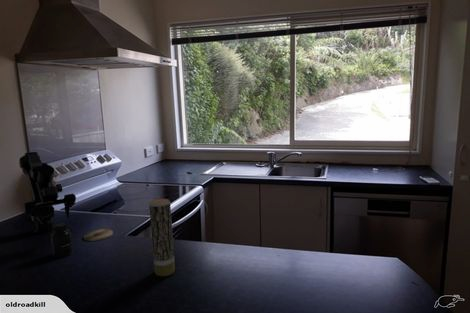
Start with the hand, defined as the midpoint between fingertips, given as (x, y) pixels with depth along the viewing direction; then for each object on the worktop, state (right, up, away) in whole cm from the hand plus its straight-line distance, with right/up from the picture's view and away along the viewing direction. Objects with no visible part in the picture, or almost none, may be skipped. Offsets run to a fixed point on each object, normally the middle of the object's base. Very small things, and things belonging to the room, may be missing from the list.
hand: (55, 221), depth 136 cm
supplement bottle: (+4, -13, -3) cm, 14 cm away
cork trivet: (+11, -9, +15) cm, 21 cm away
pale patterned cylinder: (+48, -14, -20) cm, 54 cm away
